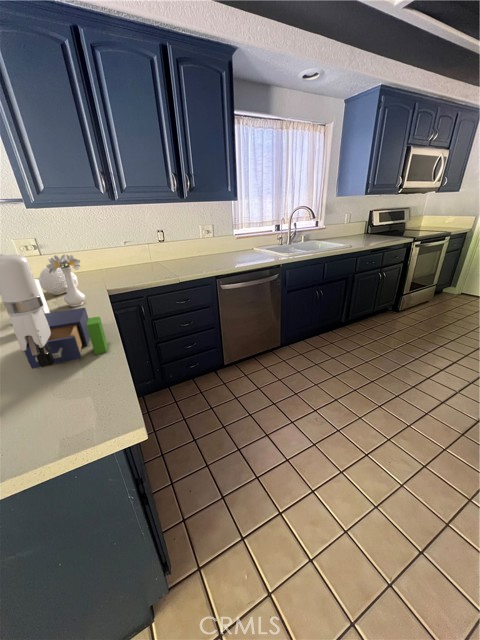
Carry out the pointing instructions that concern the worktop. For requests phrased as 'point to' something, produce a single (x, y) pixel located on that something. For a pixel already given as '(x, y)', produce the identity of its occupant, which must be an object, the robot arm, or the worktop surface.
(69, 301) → the flower vase
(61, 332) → the drawer
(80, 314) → the cabinet
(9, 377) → the worktop surface
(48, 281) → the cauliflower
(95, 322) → the green rectangular box
